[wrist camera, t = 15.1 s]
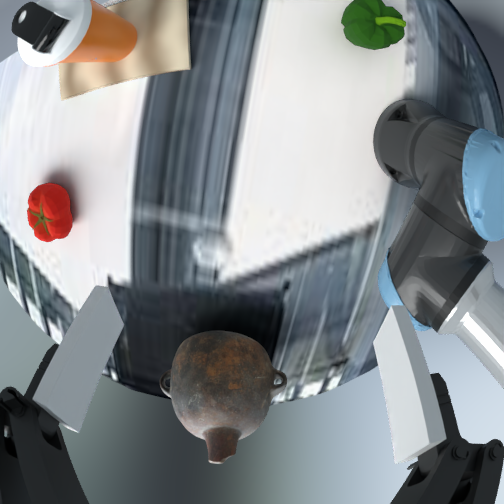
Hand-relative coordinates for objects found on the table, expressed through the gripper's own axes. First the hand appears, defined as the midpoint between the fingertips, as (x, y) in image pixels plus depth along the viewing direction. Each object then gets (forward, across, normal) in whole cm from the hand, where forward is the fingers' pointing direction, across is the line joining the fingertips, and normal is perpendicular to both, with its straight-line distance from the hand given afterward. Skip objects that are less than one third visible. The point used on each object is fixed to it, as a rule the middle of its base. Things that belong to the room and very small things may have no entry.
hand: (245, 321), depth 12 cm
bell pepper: (+36, +13, +20) cm, 43 cm away
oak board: (+32, -22, +18) cm, 43 cm away
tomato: (+30, -39, -9) cm, 50 cm away
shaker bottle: (+31, -22, +18) cm, 42 cm away
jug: (+31, -8, -44) cm, 55 cm away
